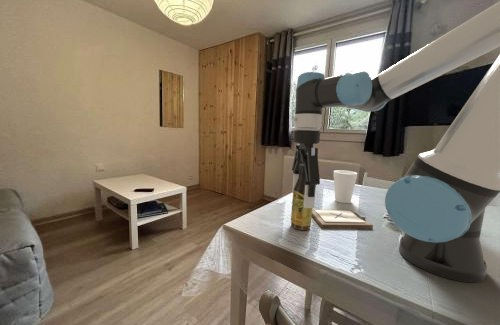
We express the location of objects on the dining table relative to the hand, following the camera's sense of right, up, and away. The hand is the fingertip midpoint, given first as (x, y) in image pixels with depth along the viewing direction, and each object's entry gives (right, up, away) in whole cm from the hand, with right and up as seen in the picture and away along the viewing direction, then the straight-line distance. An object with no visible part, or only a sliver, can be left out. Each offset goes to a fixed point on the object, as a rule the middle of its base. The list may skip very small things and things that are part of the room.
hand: (302, 199), depth 65 cm
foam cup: (+25, -6, +29) cm, 39 cm away
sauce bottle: (0, -9, +1) cm, 9 cm away
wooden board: (+14, -8, +7) cm, 18 cm away
